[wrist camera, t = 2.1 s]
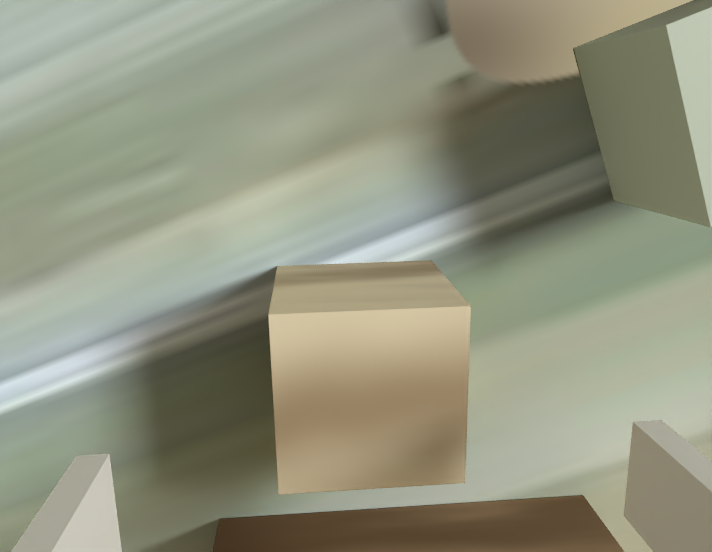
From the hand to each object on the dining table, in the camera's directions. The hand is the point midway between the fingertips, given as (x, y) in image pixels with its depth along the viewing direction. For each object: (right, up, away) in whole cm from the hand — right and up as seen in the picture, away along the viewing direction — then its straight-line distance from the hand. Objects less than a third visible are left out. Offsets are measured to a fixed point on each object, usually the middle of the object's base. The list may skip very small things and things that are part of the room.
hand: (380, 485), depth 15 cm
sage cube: (+11, +12, +8) cm, 18 cm away
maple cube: (-1, +3, +9) cm, 10 cm away
